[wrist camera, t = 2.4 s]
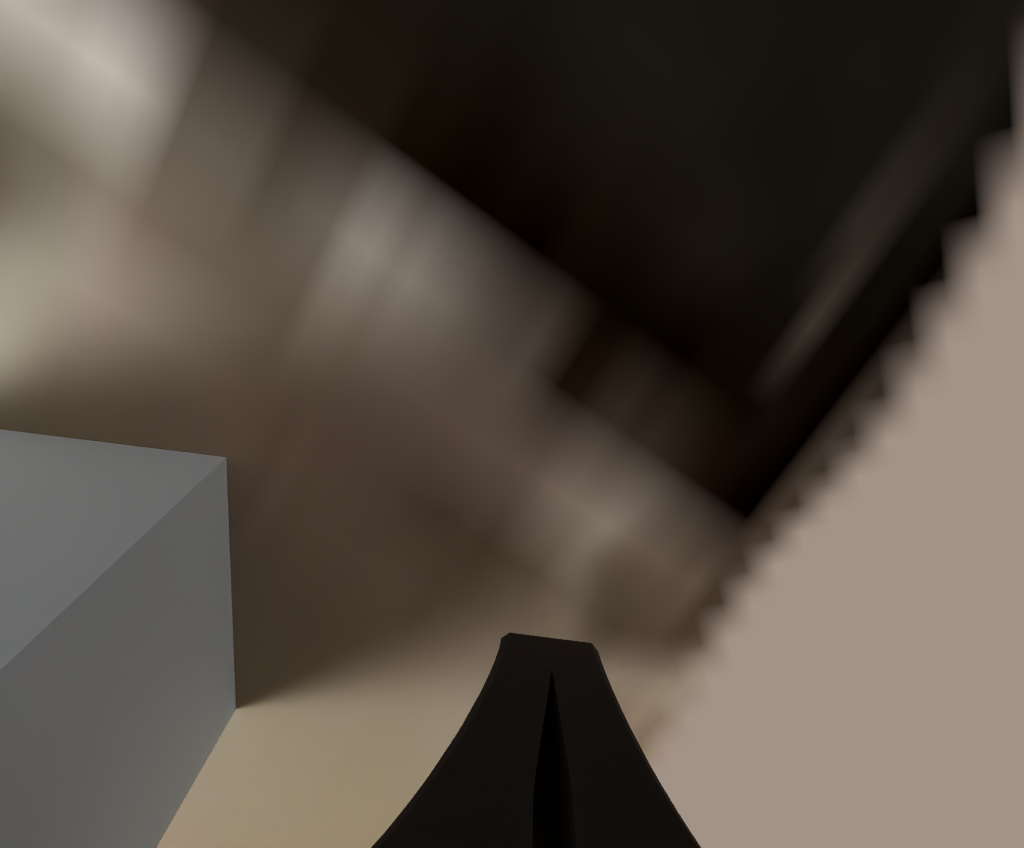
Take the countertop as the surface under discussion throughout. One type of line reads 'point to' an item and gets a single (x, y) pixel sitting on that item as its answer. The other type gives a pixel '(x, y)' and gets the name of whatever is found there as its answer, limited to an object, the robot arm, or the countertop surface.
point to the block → (109, 637)
